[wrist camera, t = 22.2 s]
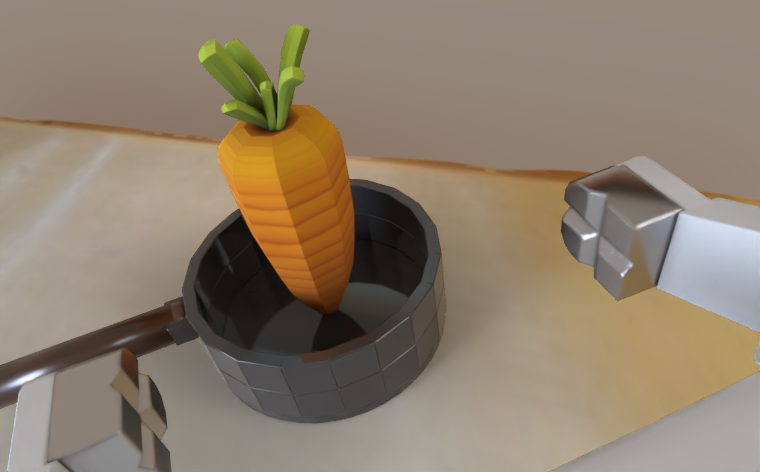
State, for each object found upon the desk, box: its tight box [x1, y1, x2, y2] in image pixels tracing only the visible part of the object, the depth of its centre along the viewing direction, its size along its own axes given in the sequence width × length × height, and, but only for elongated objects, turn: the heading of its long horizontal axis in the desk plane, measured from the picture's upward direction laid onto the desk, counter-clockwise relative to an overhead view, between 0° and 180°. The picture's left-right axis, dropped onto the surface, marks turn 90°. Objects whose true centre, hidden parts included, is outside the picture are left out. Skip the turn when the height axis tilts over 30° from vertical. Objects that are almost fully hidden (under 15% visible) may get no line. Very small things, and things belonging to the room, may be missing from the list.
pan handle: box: [0, 296, 209, 409], centre depth 25 cm, size 11×2×2 cm, turn 111°
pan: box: [182, 179, 446, 423], centre depth 28 cm, size 12×12×4 cm
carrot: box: [198, 25, 354, 315], centre depth 24 cm, size 5×5×15 cm
